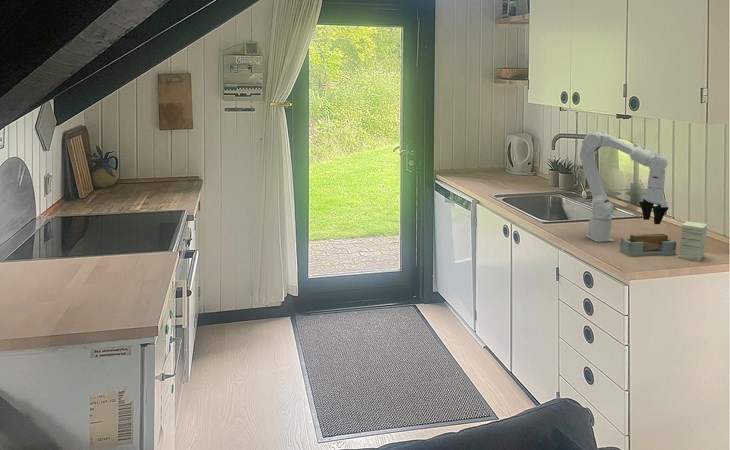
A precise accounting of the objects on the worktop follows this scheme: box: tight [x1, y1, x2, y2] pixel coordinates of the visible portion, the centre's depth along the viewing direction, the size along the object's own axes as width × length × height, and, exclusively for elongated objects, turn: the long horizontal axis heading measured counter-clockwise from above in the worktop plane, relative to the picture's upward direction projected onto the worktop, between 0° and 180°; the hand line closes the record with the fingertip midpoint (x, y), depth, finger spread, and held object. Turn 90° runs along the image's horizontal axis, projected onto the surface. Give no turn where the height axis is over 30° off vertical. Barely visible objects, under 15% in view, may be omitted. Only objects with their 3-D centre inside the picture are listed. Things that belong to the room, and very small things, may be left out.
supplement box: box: [678, 221, 709, 262], centre depth 225 cm, size 7×7×13 cm
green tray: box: [619, 237, 677, 257], centre depth 231 cm, size 7×18×5 cm, turn 96°
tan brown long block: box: [629, 233, 669, 249], centre depth 231 cm, size 3×13×5 cm, turn 96°
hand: (651, 221), depth 239 cm, fingers open, 7 cm apart
